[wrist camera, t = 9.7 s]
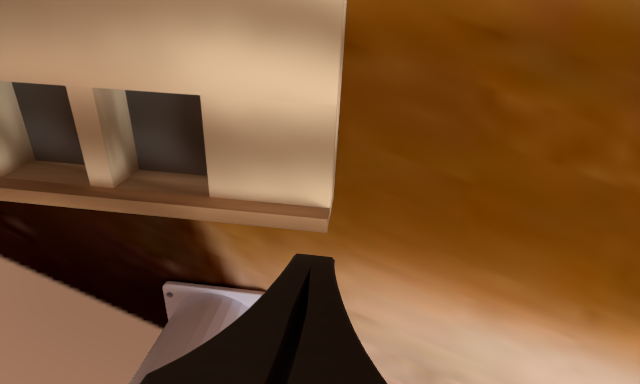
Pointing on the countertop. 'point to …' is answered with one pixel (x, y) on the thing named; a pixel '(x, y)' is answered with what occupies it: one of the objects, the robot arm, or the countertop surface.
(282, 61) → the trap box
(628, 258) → the countertop surface
